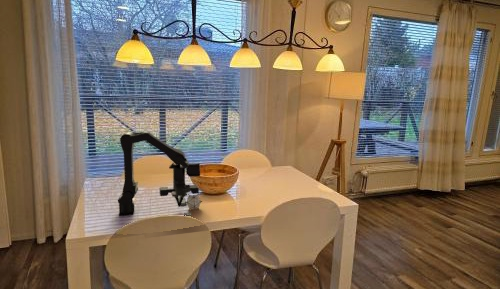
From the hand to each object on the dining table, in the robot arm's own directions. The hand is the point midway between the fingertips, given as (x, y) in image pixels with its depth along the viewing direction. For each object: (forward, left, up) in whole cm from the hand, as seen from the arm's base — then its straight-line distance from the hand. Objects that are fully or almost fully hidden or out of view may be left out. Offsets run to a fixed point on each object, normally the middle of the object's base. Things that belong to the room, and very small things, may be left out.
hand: (179, 206), depth 168 cm
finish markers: (+3, +2, -2) cm, 4 cm away
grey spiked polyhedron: (+7, 0, -2) cm, 8 cm away
